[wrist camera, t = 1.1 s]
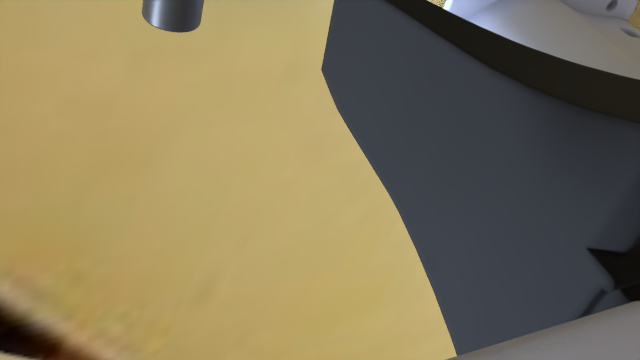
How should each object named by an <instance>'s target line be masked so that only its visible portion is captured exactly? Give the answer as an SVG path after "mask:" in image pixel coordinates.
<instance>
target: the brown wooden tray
mask: <svg viewBox="0 0 640 360" xmlns="http://www.w3.org/2000/svg"><path fill="white" fill-rule="evenodd" d="M203 3H204V0H143V6H142V15H143V17H144V19H145V20H146V21H147V22H148V23H149V24H151V25H152V26H154V27H156V28H159V29H162V30H165V31H170V32H189V31H193V30H195V29H196V28H198V26H199V25H200V22H201V15H202V9H203Z"/></svg>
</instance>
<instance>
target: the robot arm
mask: <svg viewBox="0 0 640 360" xmlns="http://www.w3.org/2000/svg"><path fill="white" fill-rule="evenodd" d="M609 2H610V3H609ZM637 3H638V0H446V3H445V5H444V7H443V8H441V7H439V6H437V5H435V4H433V3H431V2H429V1H427V0H334V5H333V10H332V16H331V21H330V26H329V32H328V37H327V42H326V48H325V53H324V59H323V64H322V69H321V70H322V73H323V75H324V78H325V80H326V83H327V86H328V88H329V91H330V93H331V95H332V98H333V100H334V102H335V105H336V107H337V109H338V111H339V113H340V115H341V116H342V118H343V120H344V122H345V123H346V125H347V127H348V128H349V130H350V132H351V133H352V135H353V137H354V138H355V140H356V141H357V143H358V145H359V146H360V148H361V150H362V151H363V153H364V154H365V156H366V158H367V159H368V161H369V162H370V164H371V166H372V167H373V169H374V171H375V172H376V174H377V175H378V177H379V179H380V180H381V182H382V184H383V185H384V187H385V188H386V190H387V192H388V193H389V195H390V197H391V199H392V201H393V202H394V204H395V206H396V208H397V210H398V211H399V214H400V216H401V218H402V220H403V222H404V224H405V227H406V229H407V231H408V233H409V235H410V237H411V240H412V242H413V244H414V246H415V248H416V250H417V253H418V255H419V257H420V260H421V262H422V265H423V267H424V269H425V272H426V274H427V277H428V279H429V281H430V284H431V286H432V288H433V291H434V293H435V296H436V299H437V301H438V304H439V307H440V309H441V312H442V315H443V317H444V320H445V323H446V325H447V328H448V331H449V333H450V336H451V339H452V342H453V345H454V348H455V351H456V354H457V356H456V357H453V358H450V359H446V360H640V30H639V29H637V28H636V27H635V26H633V25H632V24H631V23H629V22H628V20H629V18H630V17H631V15H632V14H633V12H634V11H635V9H636V7H637Z"/></svg>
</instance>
